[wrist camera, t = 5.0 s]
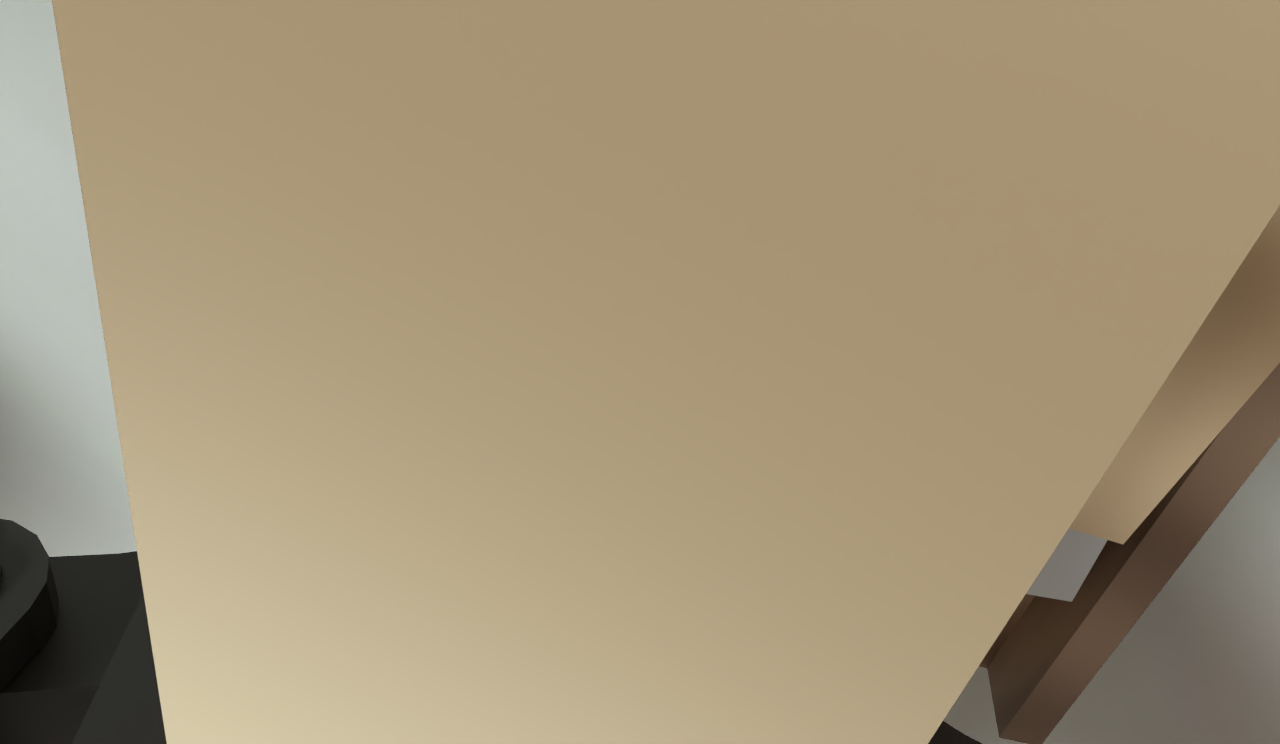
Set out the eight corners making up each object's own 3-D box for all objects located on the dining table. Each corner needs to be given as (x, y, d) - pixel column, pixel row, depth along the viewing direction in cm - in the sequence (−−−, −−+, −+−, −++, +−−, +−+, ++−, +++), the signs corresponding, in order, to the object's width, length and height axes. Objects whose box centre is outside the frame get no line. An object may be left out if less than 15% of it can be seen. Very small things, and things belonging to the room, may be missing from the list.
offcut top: (1101, 477, 19) (1122, 544, 17) (864, 405, 18) (869, 469, 17) (1496, -22, 13) (1571, 24, 12) (1168, -138, 13) (1209, -103, 11)
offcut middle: (1056, 541, 22) (1071, 601, 21) (833, 503, 22) (836, 562, 21) (1378, -60, 14) (1433, -23, 13) (1041, -115, 14) (1063, -83, 13)
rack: (1015, 629, 28) (1039, 746, 25) (421, 498, 28) (380, 603, 25) (1951, -778, 12) (2292, -874, 9) (573, -1147, 12) (504, -1362, 9)
